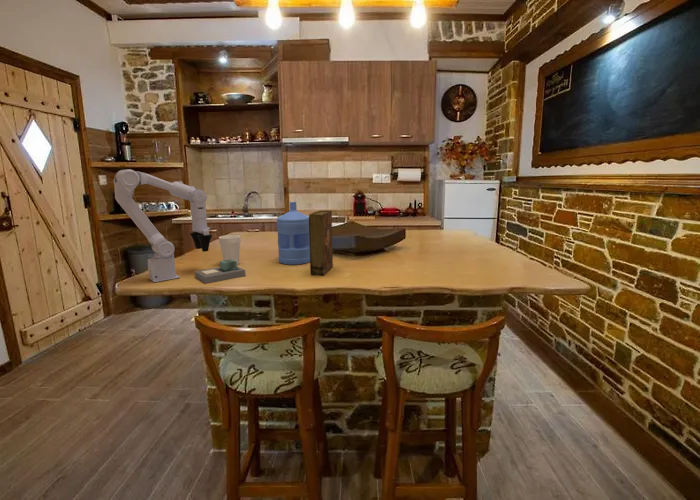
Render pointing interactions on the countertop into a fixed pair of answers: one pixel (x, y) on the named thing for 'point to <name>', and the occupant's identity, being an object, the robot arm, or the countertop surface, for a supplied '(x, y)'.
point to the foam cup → (230, 247)
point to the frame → (218, 274)
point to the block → (228, 265)
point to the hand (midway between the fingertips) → (202, 250)
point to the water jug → (293, 237)
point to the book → (320, 242)
